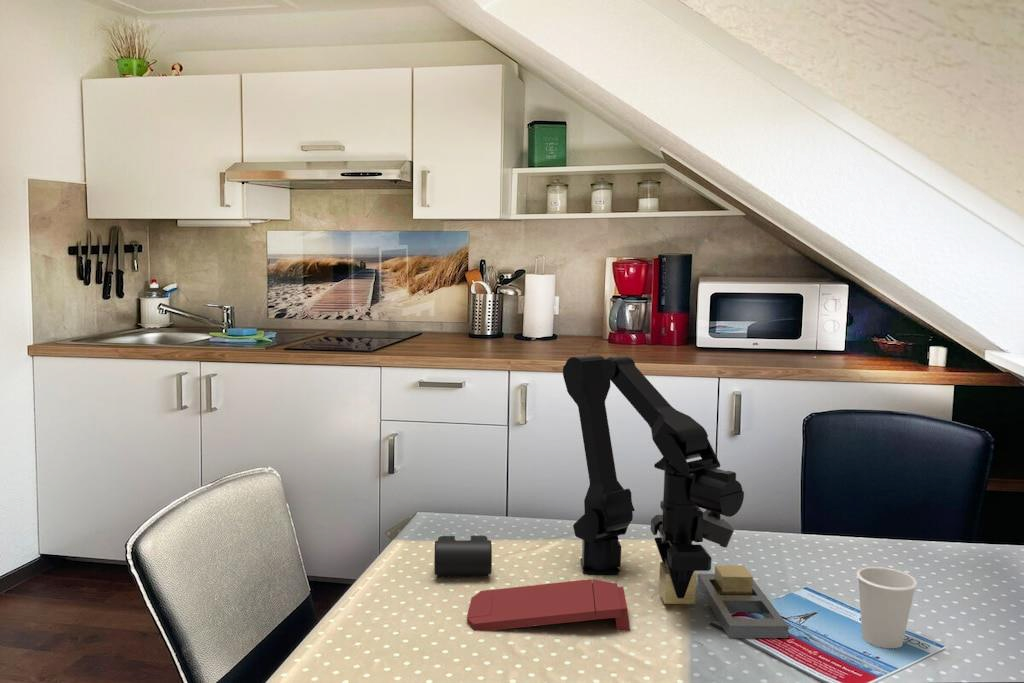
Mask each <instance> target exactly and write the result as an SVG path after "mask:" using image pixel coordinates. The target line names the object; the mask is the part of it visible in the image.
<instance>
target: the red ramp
mask: <svg viewBox="0 0 1024 683" xmlns="http://www.w3.org/2000/svg"><path fill="white" fill-rule="evenodd" d="M626 598H627V597H626V594H625V588H624V586H618V583H615V582H610V581H604V580H600V579H594V578H590V579H589V578H587V579H579V580H571V581H561V582H553V583H542V584H532V585H526V586H525V585H524V586H517V587H516V586H515V587H507V588H506V587H505V588H497V589H494V588H493V589H487V590H486V589H485V590H480V591H479V592H478V593H476V594H475V595H473V596H472V597H471V599H470V603H469V607H468V610H467V615H466V621H467V622H466V623H467V624H468V625H469V626H470V627H471V629H472V630H474V631H477V632H478V631H480V632H489V631H497V630H499V631H500V630H507V629H518V628H527V627H536V626H537V627H538V626H546V625H556V624H564V623H574V622H584V621H592V620H593V621H594V620H604V619H615V624H616V625H615V626H616V631H617V630H620V631H621V632H622V630H625V631H624V632H630V631H631V628H630V627H631V626H630V618H629V611H628V604H627V600H626Z"/></svg>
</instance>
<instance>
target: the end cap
mask: <svg viewBox="0 0 1024 683" xmlns="http://www.w3.org/2000/svg"><path fill="white" fill-rule="evenodd" d="M492 547H493V546H492V540H490V539H488V537H487V536H486V535H483V534H481V535H475V534H473V535H470V539H467V540H466V539H464V540H461V539H459V540H458V539H457V540H456V535H440V536H438V538H437V540H435V541H434V556H433V557H434V561H433V562H434V564H433V565H434V566H433V568H434V571H433V572H434V576H437V578H489V575H491V574H492V568H493V567H492V565H493V564H492V563H493V562H492V561H493V560H492V559H493V557H492V556H493V555H492V554H493V551H492Z"/></svg>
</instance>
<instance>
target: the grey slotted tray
mask: <svg viewBox="0 0 1024 683" xmlns="http://www.w3.org/2000/svg"><path fill="white" fill-rule="evenodd" d="M714 575H715V573H697V586H698V588H699V587H700V588H699V590H700V591H701V592H702V594H704V595H703V596H704V598H705V599H706V601H707V603H708V605H709V607H710V606H711V607H710V608H711V610H712V611H713V613H714V615H715V616H716V619H717V620H718V622H719V624H720V626H721V627H722V629H723V630H724V632H725V634H726V635H727V638H728V639H756V638H757V640H759V639H760V638H764V639H765V638H789V625H788V623H787V622H786V621H785V620H784V618H783V617H782V616H781V614H780V612H778V611H777V609H776V608H775V607H774V605H773V604H772V602H771V601H770V600H769V598H768V597H767V596H766V595H765V593H764V591H763V590H762V589H761V588H760V587H759V585H758V584H757V583H756V581H755V579H753V583H752V596H743V595H718V593H717V592H716V590H715V589H714ZM754 612H755V613H756V612H757V613H758V612H759V613H760V612H761V614H762V616H763V618H737V617H736V618H735V617H734V618H733V615H732V614H731V613H754ZM759 613H758V614H759ZM758 638H759V639H758Z"/></svg>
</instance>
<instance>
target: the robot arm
mask: <svg viewBox="0 0 1024 683" xmlns="http://www.w3.org/2000/svg"><path fill="white" fill-rule="evenodd" d="M562 376H563V380H564V384H565V387H566V388H565V389H566V391H567V393H568V395H569V396H570V398H571V399H572V400H573V401H574V403H575V404H576V406H577V408H578V416H579V420H580V428H581V434H582V439H583V447H584V454H585V460H586V467H587V472H588V480H589V486H588V488H587V492H586V494H585V497H584V499H583V504H584V505H583V507H584V514H583V515H582V516H580V517H579V519H578V520H576V521H575V523H573V527H572V528H573V531H574V536H575V537H576V538H579V539H580V540H581V541H582V544H581V545H582V546H581V558H580V559H579V560H580V566H581V567H582V568H581V569H582V573H583V574H586V575H619V574H620V570H619V568H621V565H622V564H621V563H622V544H621V542H620V541H619V536H623V535H626V533H627V531H628V528H629V526H630V524H631V522H632V521H633V518H634V516H633V515H634V514H633V512H635V508H634V505H633V501H632V491H631V489H630V488H624V487H623V486H622V485H621V483H620V482H619V480H618V478H617V470H616V466H615V465H616V464H615V459H614V452H613V446H612V439H611V432H610V426H609V419H608V413H607V408H606V407H607V406H606V400H607V397H608V394H609V391H610V389H611V383H612V384H613V385H614V386H615V387H616V388H617V390H619V392H620V393H621V394H622V396H624V398H625V399H626V400H627V401H628V402H629V404H630V405H631V406H632V407H633V408H634V409H635V411H636V412H637V413H638V414H639V416H641V417H642V418H643V420H644V421H645V422H646V423H647V425H648V426H649V429H650V431H651V437H652V438H651V440H652V441H653V443H654V444H655V446H656V447H657V449H658V451H659V453H660V454H661V456H662V457H661V459H660V460H657V462H656V463H653V464H654V466H653V467H654V468H655V469H657V470H661V471H664V472H663V473H664V474H663V475H664V477H663V498H662V500H660V504H659V506H660V509H661V510H662V514H656V515H654V517H652V518H651V519H650V532H651V533H652V536H657V535H659V536H658V537H654V538H653V539H654V542H655V545H656V548H657V550H658V553H659V557H660V560H661V562H666V565H667V568H668V571H669V574H670V577H671V580H672V583H673V587H674V590H675V593H676V596H677V598H684V597H685V594H686V591H687V588H688V585H689V582H690V580H691V577H692V575H693V572H694V571H695V572H699V571H700V572H701V571H702V572H703V571H705V572H709V571H711V570H712V557H711V555H710V554H709V552H708V551H707V550H706V549H705V547H704V546H703V545H702V544H693V542H694V543H703V541H704V540H706V541H710V542H711V543H715V544H717V545H719V546H720V547H722V548H727V547H728V545H729V543H730V541H731V538H732V537H733V534H734V531H735V529H734V528H733V527H732V525H730V523H729V522H727V521H726V520H725V519H723V518H722V517H721V515H722V516H724V517H729V518H731V517H733V516H735V515H736V514H737V513H738V512H739V511H740V509H741V508H742V505H743V502H744V498H745V491H744V490H743V486H742V484H741V483H740V481H738V480H737V473H736V472H734V471H731V470H723V469H720V468H721V462H720V461H719V459H718V457H717V455H716V453H715V451H714V450H715V449H713V446H712V444H711V442H710V440H709V439H708V438H709V434H708V433H707V430H706V428H704V426H702V424H700V423H699V422H698V421H697V420H695V419H694V418H693V417H692V416H690V415H689V414H685V413H683V412H681V411H679V410H677V409H676V408H674V407H673V406H672V405H671V404H670V403H669V402H668V401H667V400H666V399H665V397H664V396H663V395H662V394H661V392H659V391H658V390H657V388H656V387H655V386H654V385H653V384H652V383H651V382H650V381H649V379H647V377H646V376H645V375H644V374H643V373H642V371H641V370H640V369H638V368H637V366H636V363H635V361H634V360H633V358H631V357H629V356H625V355H621V356H611V357H608V358H604V357H603V356H601V355H600V354H593V355H580V356H571V357H569V358H568V359H567V360H566V362H565V365H563V366H562ZM699 457H700V459H696V458H699ZM691 459H695V460H691ZM688 460H691V461H688ZM703 509H704V511H703ZM721 518H722V519H721ZM658 533H659V534H658Z"/></svg>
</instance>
